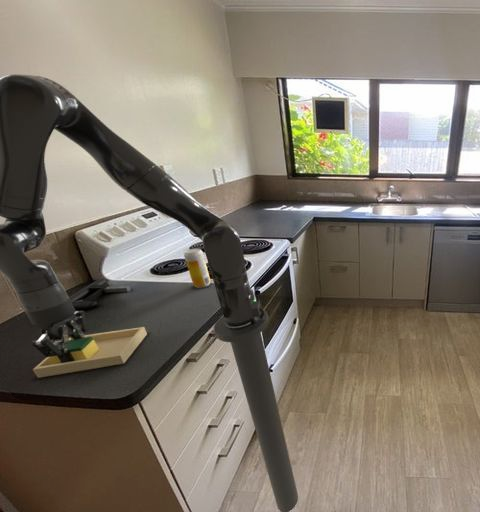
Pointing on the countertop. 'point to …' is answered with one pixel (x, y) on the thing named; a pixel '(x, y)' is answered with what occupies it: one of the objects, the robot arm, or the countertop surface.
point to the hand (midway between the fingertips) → (76, 355)
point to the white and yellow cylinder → (197, 267)
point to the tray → (98, 353)
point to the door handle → (94, 294)
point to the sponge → (79, 349)
